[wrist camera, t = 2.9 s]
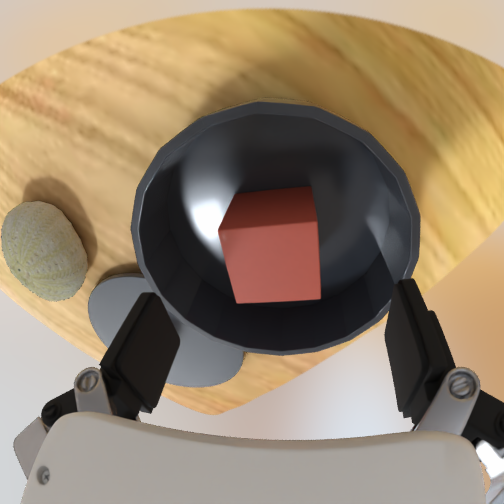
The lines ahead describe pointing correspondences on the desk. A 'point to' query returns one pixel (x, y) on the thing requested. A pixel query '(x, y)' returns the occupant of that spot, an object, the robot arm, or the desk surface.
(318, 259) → the block
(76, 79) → the desk surface
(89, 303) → the pot lid
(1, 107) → the desk surface
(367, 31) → the desk surface
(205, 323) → the pot
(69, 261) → the sea urchin shell
